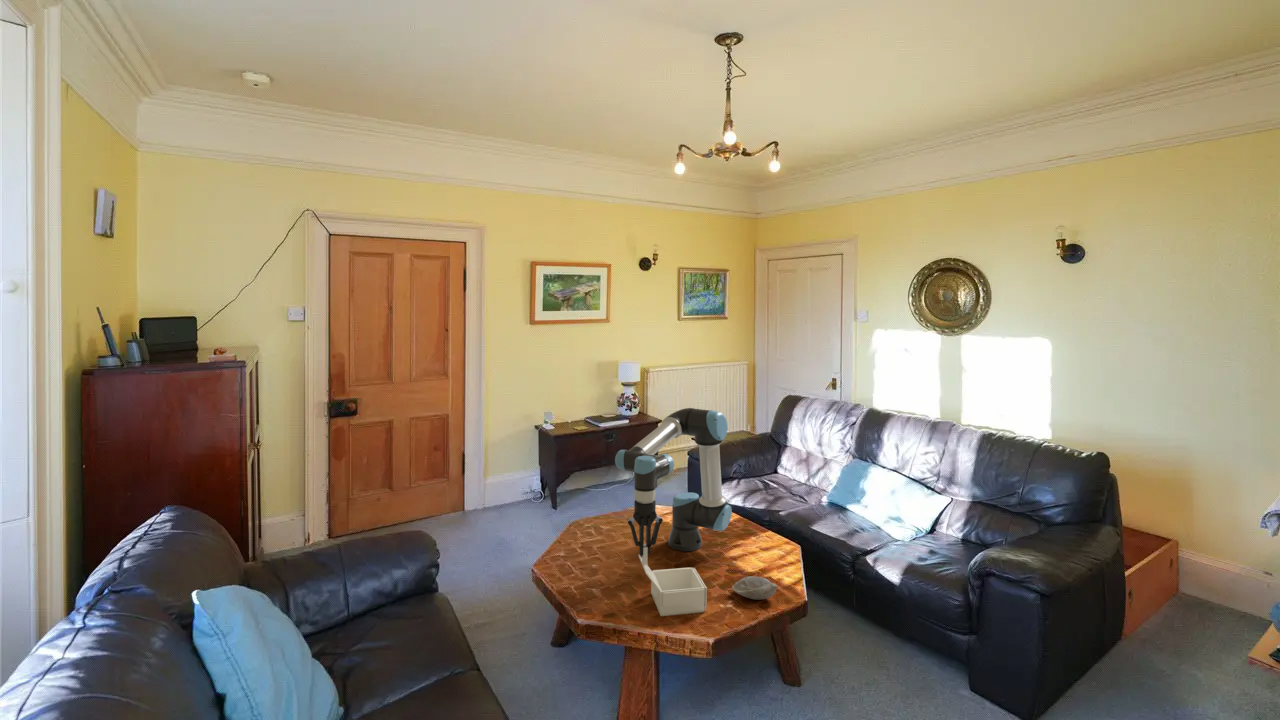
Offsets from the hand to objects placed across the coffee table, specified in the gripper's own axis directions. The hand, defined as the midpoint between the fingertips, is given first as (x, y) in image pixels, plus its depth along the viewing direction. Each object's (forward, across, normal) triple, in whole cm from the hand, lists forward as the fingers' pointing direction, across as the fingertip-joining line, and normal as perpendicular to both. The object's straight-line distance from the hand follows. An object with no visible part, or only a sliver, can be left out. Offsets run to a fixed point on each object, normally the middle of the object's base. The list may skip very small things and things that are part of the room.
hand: (644, 563), depth 215 cm
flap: (+3, -2, 0) cm, 4 cm away
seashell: (+17, -41, +1) cm, 44 cm away
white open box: (+16, -12, 0) cm, 20 cm away
